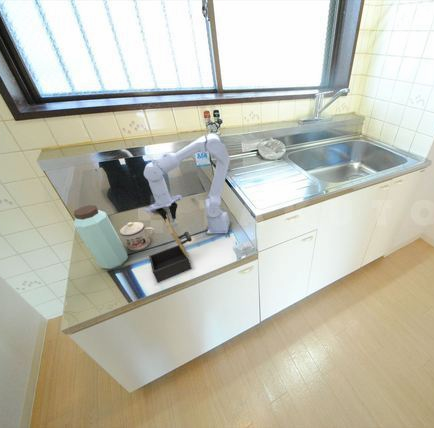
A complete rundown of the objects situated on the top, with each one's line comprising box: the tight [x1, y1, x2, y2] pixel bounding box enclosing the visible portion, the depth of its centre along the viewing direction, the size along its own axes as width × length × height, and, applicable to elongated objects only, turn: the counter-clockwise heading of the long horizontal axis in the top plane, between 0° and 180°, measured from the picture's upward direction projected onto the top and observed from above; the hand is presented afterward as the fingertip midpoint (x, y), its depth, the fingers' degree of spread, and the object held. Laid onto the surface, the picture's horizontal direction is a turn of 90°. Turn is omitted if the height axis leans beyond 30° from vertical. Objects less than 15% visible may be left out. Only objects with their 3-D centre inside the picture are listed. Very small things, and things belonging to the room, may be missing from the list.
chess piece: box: [162, 207, 178, 228], centre depth 100 cm, size 4×4×10 cm
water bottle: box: [73, 204, 129, 270], centre depth 87 cm, size 10×10×25 cm
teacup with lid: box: [119, 221, 156, 251], centre depth 100 cm, size 12×9×12 cm
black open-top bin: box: [148, 244, 193, 284], centre depth 90 cm, size 12×10×6 cm
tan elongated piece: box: [165, 218, 193, 259], centre depth 87 cm, size 13×10×5 cm
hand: (170, 220), depth 101 cm, fingers closed on chess piece, 3 cm apart
